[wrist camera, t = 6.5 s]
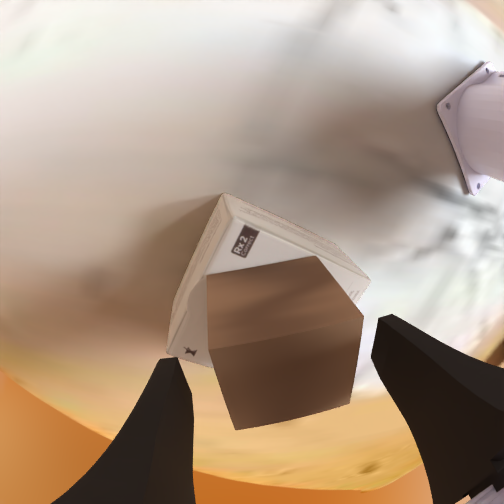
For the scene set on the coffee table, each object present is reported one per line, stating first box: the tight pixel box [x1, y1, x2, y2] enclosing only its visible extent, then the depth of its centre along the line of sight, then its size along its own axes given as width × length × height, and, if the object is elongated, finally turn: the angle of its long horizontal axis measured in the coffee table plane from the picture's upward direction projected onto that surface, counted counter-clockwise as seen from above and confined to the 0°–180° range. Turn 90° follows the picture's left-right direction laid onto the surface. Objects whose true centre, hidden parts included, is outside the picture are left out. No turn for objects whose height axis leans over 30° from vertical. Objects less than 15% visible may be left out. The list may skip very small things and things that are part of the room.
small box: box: [166, 193, 371, 368], centre depth 15 cm, size 8×8×5 cm
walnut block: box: [206, 256, 364, 430], centre depth 11 cm, size 5×5×4 cm
